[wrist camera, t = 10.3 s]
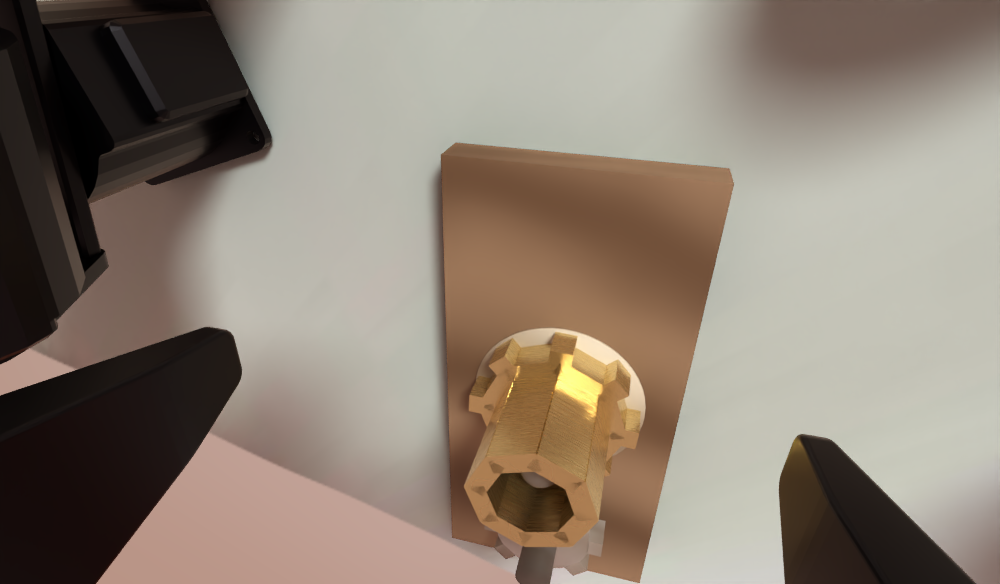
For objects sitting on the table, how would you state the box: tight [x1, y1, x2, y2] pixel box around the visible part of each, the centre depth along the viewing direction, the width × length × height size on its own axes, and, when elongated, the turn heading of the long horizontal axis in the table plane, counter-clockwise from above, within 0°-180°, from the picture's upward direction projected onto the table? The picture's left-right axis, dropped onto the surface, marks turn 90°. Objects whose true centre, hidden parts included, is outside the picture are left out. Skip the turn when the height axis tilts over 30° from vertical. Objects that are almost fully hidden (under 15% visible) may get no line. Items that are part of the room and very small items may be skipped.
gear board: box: [441, 143, 734, 584], centre depth 21 cm, size 19×9×6 cm, turn 179°
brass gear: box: [464, 332, 641, 547], centre depth 20 cm, size 6×6×5 cm
